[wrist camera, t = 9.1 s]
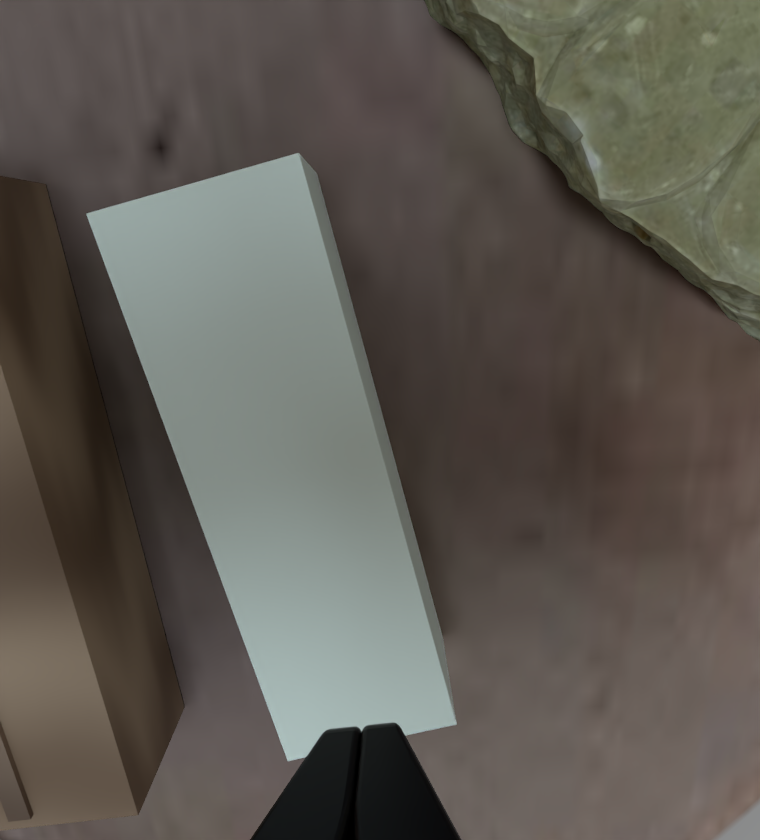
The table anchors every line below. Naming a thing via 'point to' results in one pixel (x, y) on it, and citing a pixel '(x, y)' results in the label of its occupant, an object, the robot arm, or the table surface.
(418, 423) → the table surface
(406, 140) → the table surface
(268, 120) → the table surface
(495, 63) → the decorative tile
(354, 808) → the robot arm
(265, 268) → the sage plank
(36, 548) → the walnut plank
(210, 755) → the table surface
